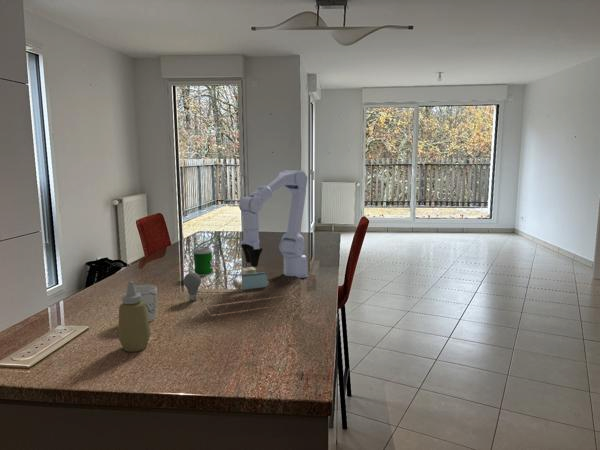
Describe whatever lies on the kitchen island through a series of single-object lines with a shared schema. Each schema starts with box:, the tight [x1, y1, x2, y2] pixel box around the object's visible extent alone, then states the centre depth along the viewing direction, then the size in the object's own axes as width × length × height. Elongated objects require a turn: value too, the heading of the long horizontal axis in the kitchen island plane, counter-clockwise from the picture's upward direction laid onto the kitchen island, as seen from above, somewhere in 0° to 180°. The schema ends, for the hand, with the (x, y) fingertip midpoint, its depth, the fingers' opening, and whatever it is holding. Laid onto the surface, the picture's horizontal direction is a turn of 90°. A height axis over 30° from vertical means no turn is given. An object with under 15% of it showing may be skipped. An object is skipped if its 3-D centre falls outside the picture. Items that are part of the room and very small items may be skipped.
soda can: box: [193, 246, 214, 277], centre depth 187 cm, size 8×8×12 cm
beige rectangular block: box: [241, 266, 257, 275], centre depth 172 cm, size 4×4×6 cm
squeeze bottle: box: [117, 280, 151, 353], centre depth 116 cm, size 8×8×18 cm
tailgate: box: [241, 271, 268, 291], centre depth 165 cm, size 9×1×6 cm, turn 112°
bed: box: [232, 278, 270, 290], centre depth 171 cm, size 12×10×2 cm
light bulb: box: [182, 271, 202, 302], centre depth 155 cm, size 6×6×10 cm
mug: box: [134, 284, 158, 323], centre depth 136 cm, size 11×8×10 cm
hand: (251, 264), depth 167 cm, fingers open, 6 cm apart
